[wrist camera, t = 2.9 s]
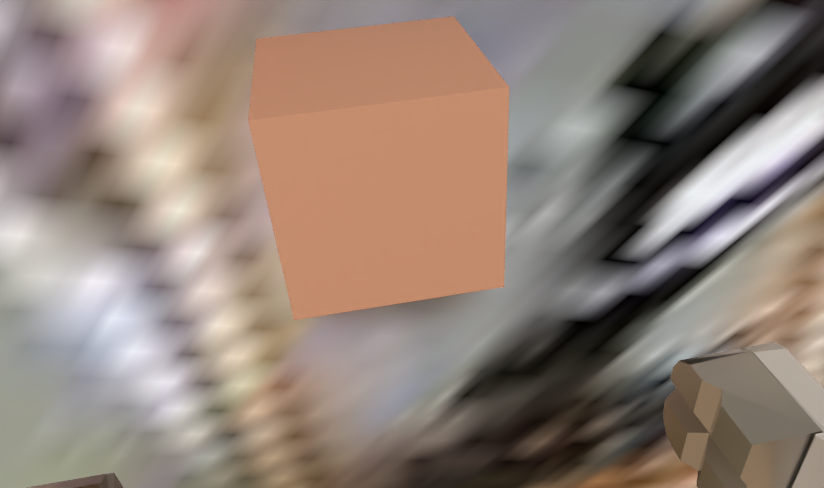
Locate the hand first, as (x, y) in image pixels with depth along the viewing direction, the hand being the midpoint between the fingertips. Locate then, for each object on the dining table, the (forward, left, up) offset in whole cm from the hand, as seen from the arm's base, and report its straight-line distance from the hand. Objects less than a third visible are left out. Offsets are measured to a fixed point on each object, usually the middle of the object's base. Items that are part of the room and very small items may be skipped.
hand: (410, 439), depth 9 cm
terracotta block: (-1, 0, -11) cm, 10 cm away
